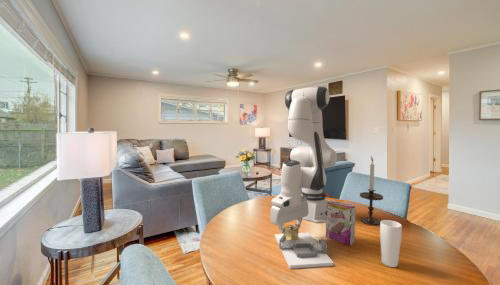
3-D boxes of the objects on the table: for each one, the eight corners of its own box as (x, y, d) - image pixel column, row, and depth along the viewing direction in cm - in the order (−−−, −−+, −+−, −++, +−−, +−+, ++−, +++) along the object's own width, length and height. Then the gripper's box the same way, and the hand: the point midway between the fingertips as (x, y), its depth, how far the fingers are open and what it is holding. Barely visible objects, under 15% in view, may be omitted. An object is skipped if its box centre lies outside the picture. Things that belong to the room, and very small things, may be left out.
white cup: (374, 258, 87) (376, 220, 86) (391, 257, 88) (393, 219, 87) (386, 269, 80) (388, 227, 80) (405, 268, 81) (406, 227, 80)
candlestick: (354, 219, 125) (356, 155, 123) (370, 217, 129) (372, 154, 127) (370, 227, 115) (372, 157, 113) (387, 224, 118) (389, 156, 116)
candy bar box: (325, 237, 104) (326, 201, 103) (330, 234, 108) (331, 199, 107) (350, 246, 96) (351, 208, 95) (355, 242, 100) (356, 205, 99)
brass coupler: (290, 235, 103) (290, 223, 103) (298, 239, 100) (298, 226, 100) (283, 238, 101) (283, 225, 100) (291, 242, 97) (291, 229, 97)
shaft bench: (308, 235, 106) (308, 224, 106) (333, 265, 83) (333, 252, 82) (272, 237, 105) (272, 226, 104) (287, 268, 81) (287, 255, 80)
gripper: (301, 193, 108) (300, 222, 108) (268, 200, 96) (267, 233, 96) (312, 196, 103) (311, 227, 103) (278, 204, 90) (278, 239, 91)
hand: (290, 230), depth 100 cm, fingers open, 8 cm apart
